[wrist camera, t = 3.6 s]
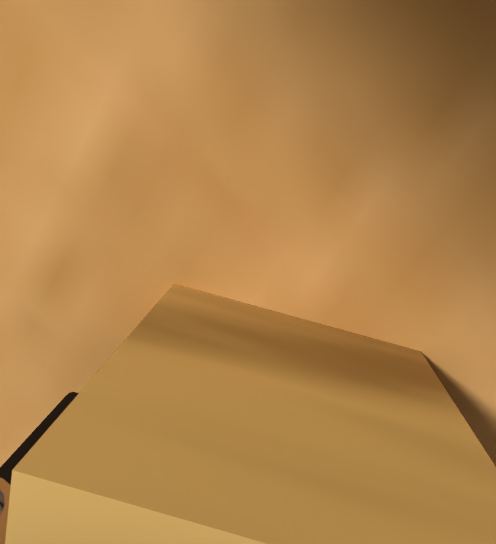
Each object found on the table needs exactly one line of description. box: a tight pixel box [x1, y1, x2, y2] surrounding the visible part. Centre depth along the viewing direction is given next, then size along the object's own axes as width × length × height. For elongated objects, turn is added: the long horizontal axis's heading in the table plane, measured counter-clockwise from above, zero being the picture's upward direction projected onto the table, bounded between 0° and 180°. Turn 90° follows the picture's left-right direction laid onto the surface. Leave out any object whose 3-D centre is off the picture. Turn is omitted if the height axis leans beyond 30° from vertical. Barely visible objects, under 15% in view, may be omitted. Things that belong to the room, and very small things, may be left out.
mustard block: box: [5, 284, 496, 544], centre depth 8 cm, size 6×6×6 cm
